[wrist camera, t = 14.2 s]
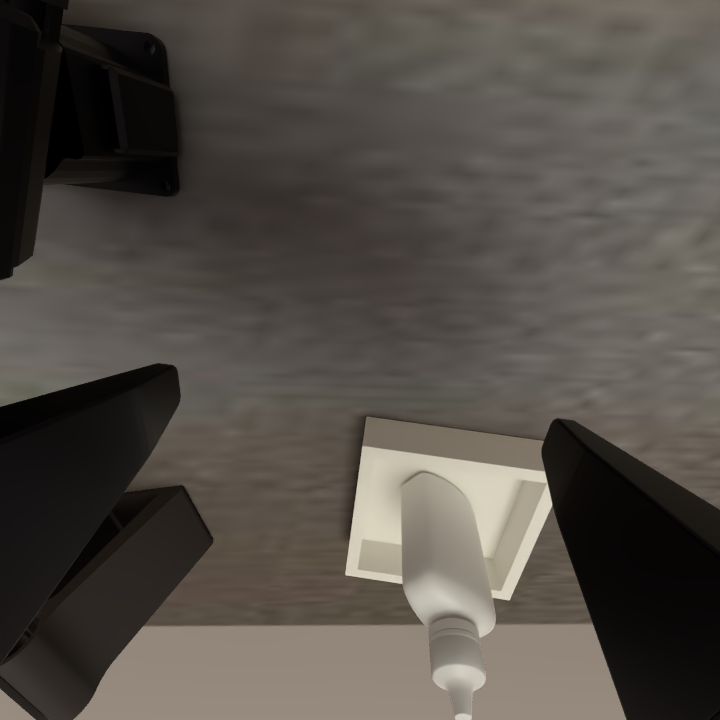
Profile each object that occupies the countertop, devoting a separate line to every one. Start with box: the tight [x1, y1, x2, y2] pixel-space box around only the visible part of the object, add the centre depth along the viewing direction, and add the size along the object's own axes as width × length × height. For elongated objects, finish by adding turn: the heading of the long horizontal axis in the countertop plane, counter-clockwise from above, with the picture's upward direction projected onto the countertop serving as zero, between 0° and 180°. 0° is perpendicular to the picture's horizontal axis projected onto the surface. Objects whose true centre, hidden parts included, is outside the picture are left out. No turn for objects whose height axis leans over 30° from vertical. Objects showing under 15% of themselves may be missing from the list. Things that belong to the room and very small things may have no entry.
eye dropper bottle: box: [401, 473, 496, 720], centre depth 21 cm, size 4×6×12 cm
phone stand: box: [0, 486, 213, 720], centre depth 26 cm, size 9×6×12 cm, turn 103°
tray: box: [345, 416, 552, 600], centre depth 26 cm, size 12×12×3 cm
